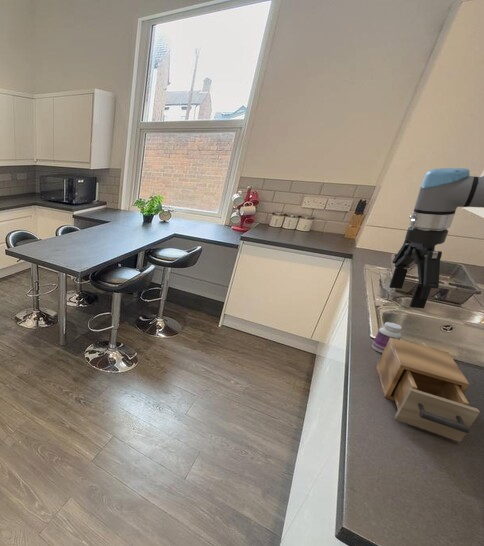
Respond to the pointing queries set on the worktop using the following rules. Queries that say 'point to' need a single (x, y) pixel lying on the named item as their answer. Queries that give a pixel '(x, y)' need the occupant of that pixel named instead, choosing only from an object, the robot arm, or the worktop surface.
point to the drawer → (433, 405)
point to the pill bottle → (386, 336)
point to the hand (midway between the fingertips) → (405, 297)
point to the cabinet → (416, 365)
